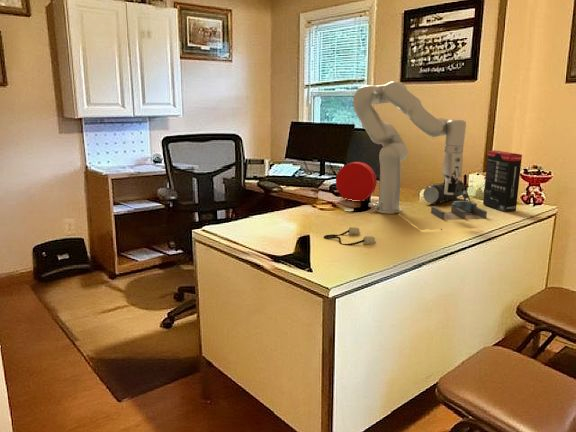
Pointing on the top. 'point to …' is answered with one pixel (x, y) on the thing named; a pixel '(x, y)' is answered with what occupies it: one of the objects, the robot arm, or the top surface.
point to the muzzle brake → (442, 193)
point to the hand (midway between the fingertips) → (448, 191)
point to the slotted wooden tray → (460, 211)
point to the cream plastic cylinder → (447, 186)
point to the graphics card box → (502, 180)
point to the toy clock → (356, 181)
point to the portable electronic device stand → (465, 195)
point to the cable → (353, 231)
